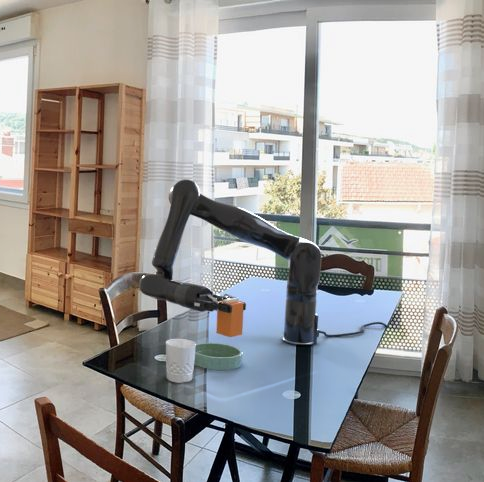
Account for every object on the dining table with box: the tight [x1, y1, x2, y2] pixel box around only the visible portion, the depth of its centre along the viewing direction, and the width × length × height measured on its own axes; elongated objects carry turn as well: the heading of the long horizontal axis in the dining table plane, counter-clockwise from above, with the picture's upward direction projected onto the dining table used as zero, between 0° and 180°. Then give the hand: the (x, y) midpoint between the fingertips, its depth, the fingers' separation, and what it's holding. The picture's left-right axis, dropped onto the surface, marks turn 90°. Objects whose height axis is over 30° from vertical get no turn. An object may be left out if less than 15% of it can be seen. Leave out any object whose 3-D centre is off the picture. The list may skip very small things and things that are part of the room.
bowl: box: [194, 342, 243, 371], centre depth 178 cm, size 14×14×4 cm
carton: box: [215, 297, 244, 338], centre depth 173 cm, size 5×5×10 cm
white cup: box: [165, 338, 197, 384], centre depth 165 cm, size 8×8×10 cm
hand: (238, 308), depth 170 cm, fingers closed on carton, 5 cm apart
